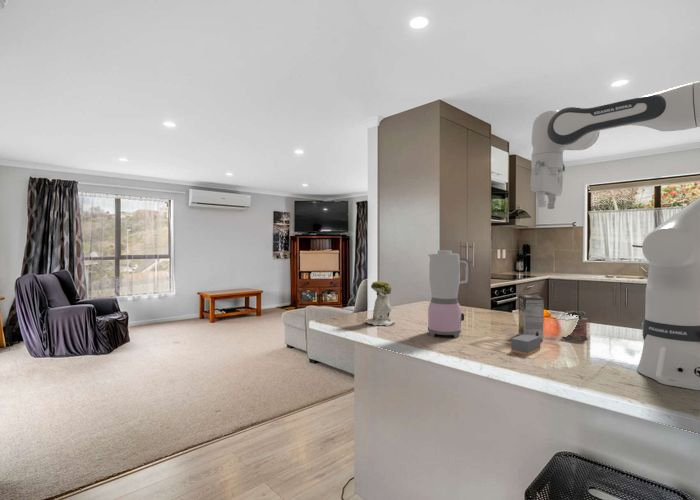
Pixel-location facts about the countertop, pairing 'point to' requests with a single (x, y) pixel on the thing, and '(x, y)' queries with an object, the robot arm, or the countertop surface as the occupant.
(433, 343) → the countertop surface
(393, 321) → the stone planter with plant
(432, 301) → the blender
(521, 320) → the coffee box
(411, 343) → the countertop surface
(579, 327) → the maroon upright canister
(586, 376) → the countertop surface
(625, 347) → the countertop surface
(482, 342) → the oak board
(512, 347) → the block
